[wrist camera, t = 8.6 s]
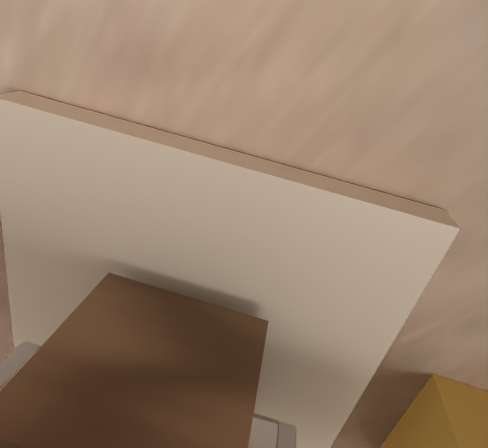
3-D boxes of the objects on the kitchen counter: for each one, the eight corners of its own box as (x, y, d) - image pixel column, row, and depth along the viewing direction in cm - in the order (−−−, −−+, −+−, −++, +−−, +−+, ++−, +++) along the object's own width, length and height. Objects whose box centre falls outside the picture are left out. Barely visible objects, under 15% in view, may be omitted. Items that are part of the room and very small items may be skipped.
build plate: (445, 209, 10) (460, 229, 9) (305, 461, 16) (305, 490, 15) (20, 90, 11) (-12, 95, 10) (37, 375, 17) (19, 398, 16)
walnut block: (268, 321, 11) (236, 517, 6) (232, 423, 13) (190, 619, 8) (108, 272, 11) (-33, 427, 6) (101, 381, 13) (-7, 550, 9)
